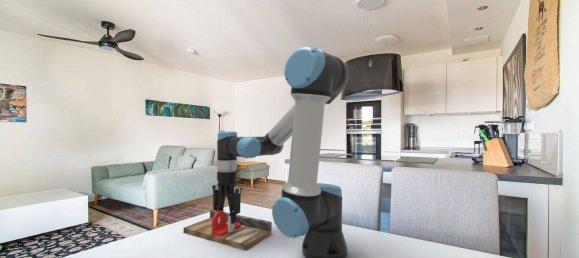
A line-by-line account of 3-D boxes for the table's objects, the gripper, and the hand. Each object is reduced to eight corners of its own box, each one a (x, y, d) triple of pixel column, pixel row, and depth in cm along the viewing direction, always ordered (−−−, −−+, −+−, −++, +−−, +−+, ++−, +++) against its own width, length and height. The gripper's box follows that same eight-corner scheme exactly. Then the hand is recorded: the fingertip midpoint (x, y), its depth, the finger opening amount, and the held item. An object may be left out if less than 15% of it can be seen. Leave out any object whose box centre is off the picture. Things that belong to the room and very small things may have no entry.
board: (271, 234, 103) (271, 221, 103) (245, 250, 89) (246, 236, 89) (213, 220, 119) (213, 209, 119) (183, 232, 105) (183, 220, 105)
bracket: (220, 236, 96) (220, 215, 96) (211, 234, 98) (211, 213, 98) (241, 226, 106) (241, 207, 106) (233, 224, 108) (233, 205, 108)
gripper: (250, 171, 100) (250, 231, 100) (217, 167, 109) (216, 223, 109) (238, 173, 94) (237, 238, 94) (203, 169, 102) (202, 228, 102)
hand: (226, 230), depth 101 cm, fingers closed on bracket, 4 cm apart
